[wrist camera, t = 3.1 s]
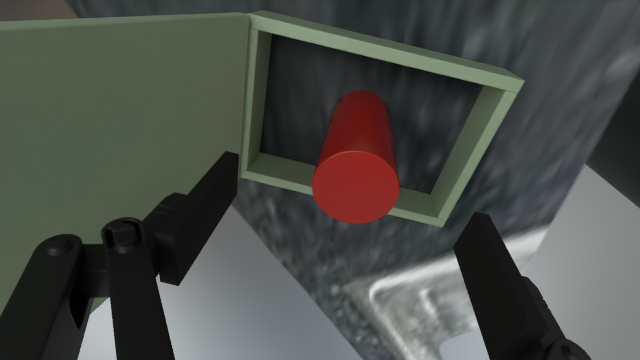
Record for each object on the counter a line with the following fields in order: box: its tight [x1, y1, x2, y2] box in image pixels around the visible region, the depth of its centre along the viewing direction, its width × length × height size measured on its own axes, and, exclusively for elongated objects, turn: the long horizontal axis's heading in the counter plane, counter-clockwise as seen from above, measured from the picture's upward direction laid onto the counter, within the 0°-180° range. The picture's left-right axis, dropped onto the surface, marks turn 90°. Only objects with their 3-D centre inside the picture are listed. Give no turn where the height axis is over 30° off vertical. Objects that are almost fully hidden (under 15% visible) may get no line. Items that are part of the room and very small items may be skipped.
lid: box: [0, 12, 249, 316], centre depth 16 cm, size 21×14×1 cm
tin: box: [312, 91, 400, 224], centre depth 23 cm, size 5×5×12 cm
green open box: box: [239, 10, 525, 227], centre depth 27 cm, size 20×14×5 cm
